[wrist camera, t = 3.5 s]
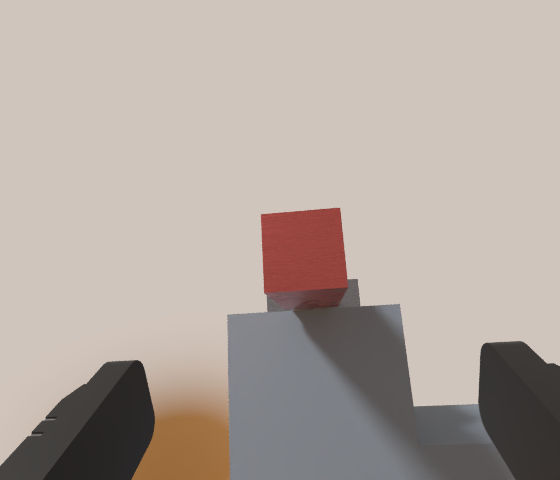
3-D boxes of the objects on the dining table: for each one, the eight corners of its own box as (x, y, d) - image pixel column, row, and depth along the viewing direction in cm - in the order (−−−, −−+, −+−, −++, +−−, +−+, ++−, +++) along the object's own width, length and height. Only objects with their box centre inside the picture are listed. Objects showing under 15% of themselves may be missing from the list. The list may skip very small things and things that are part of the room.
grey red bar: (413, 283, 14) (401, 202, 15) (203, 297, 15) (203, 219, 15) (357, 316, 35) (354, 281, 35) (272, 321, 35) (270, 287, 36)
